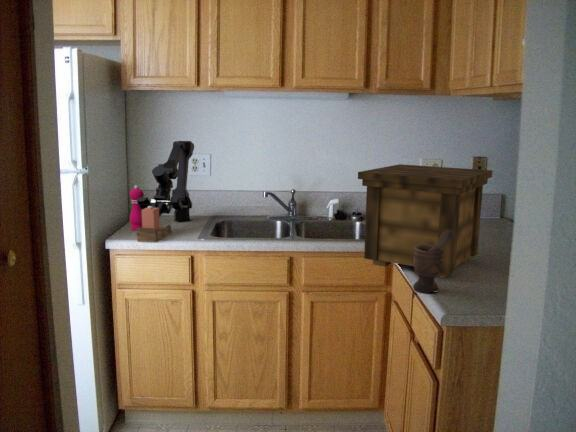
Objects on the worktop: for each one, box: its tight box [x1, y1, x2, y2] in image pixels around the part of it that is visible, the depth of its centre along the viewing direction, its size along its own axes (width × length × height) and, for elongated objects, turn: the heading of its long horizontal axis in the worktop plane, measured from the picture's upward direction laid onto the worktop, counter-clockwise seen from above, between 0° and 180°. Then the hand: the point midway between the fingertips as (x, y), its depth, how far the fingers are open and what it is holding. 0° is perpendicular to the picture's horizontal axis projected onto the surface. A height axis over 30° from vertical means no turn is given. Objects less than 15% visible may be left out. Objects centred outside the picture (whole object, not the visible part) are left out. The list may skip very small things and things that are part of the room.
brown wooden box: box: [136, 224, 172, 243], centre depth 220 cm, size 17×8×6 cm, turn 172°
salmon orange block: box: [142, 206, 161, 231], centre depth 215 cm, size 6×5×11 cm
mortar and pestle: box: [412, 229, 454, 294], centre depth 154 cm, size 12×9×20 cm
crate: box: [357, 164, 493, 278], centre depth 183 cm, size 35×35×33 cm
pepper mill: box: [129, 184, 145, 231], centre depth 233 cm, size 7×7×20 cm
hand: (155, 219), depth 220 cm, fingers closed
